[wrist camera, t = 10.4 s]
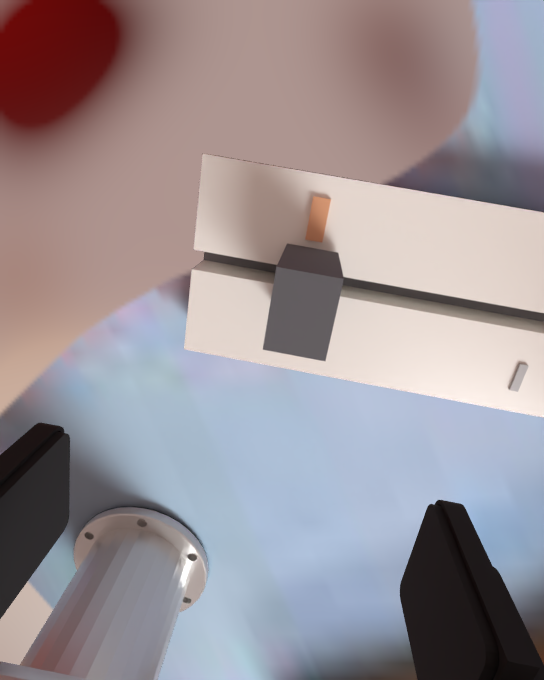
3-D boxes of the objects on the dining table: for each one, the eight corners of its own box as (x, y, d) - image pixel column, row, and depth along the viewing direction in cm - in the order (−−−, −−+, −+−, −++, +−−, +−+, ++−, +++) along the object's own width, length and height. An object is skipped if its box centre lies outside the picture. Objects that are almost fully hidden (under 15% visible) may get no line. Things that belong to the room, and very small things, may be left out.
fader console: (552, 395, 32) (585, 427, 28) (199, 328, 33) (182, 351, 29) (628, 226, 27) (680, 236, 23) (217, 155, 28) (200, 153, 24)
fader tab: (323, 303, 30) (325, 361, 21) (280, 295, 30) (262, 349, 21) (336, 244, 28) (343, 278, 19) (290, 236, 28) (276, 266, 19)
